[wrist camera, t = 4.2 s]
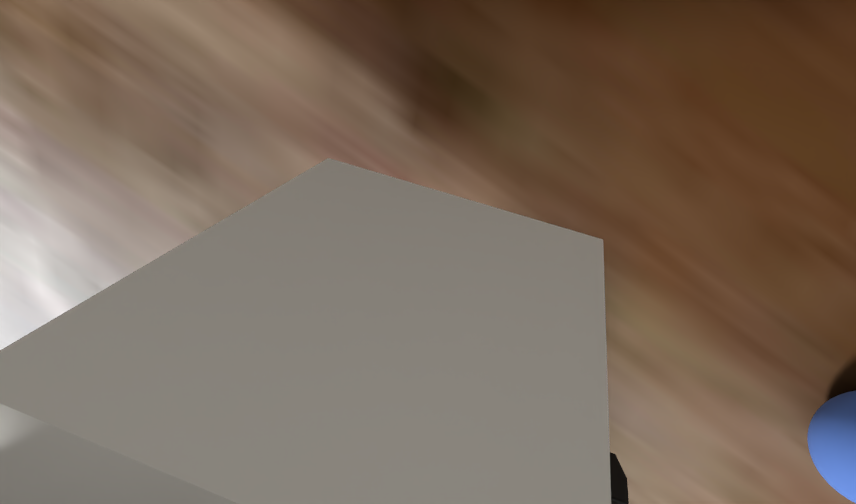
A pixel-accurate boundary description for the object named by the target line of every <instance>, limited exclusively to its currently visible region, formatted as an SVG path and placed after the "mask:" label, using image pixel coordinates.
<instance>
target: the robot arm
mask: <svg viewBox="0 0 856 504" xmlns="http://www.w3.org/2000/svg"><path fill="white" fill-rule="evenodd" d="M610 479H611V504H628V503H629V502H628V487H627V478H626V476H625V474H624V472H623V470H622V467H621V465H620V463H619V461H618V459H617V457H616V455H615V454H613V453H610Z"/></svg>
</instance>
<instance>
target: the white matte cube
mask: <svg viewBox="0 0 856 504" xmlns="http://www.w3.org/2000/svg"><path fill="white" fill-rule="evenodd" d="M0 504H611V479H610V446H609V414H608V381H607V349H606V317H605V284H604V252H603V239H600V238H596V237H593V236H589V235H586V234H583V233H579V232H576V231H573V230H569V229H566V228H562V227H559V226H556V225H552V224H549V223H546V222H542V221H539V220H535V219H532V218H529V217H525V216H522V215H519V214H515V213H512V212H508V211H505V210H502V209H498V208H495V207H492V206H488V205H485V204H481V203H478V202H475V201H471V200H468V199H465V198H461V197H458V196H454V195H451V194H448V193H444V192H441V191H438V190H434V189H431V188H427V187H424V186H421V185H417V184H414V183H411V182H407V181H404V180H400V179H397V178H394V177H390V176H387V175H384V174H380V173H377V172H373V171H370V170H367V169H363V168H360V167H357V166H353V165H350V164H346V163H343V162H340V161H336V160H333V159H330V158H328V159H326V160H324V161H322V162H321V163H319V164H317V165H316V166H314V167H312V168H310V169H309V170H307V171H305V172H304V173H302V174H300V175H299V176H297V177H295V178H293V179H292V180H290V181H288V182H287V183H285V184H283V185H281V186H280V187H278V188H276V189H275V190H273V191H271V192H270V193H268V194H266V195H264V196H263V197H261V198H259V199H258V200H256V201H254V202H253V203H251V204H249V205H247V206H246V207H244V208H242V209H241V210H239V211H237V212H235V213H234V214H232V215H230V216H229V217H227V218H225V219H224V220H222V221H220V222H218V223H217V224H215V225H213V226H212V227H210V228H208V229H206V230H205V231H203V232H201V233H200V234H198V235H196V236H195V237H193V238H191V239H189V240H188V241H186V242H184V243H183V244H181V245H179V246H178V247H176V248H174V249H172V250H171V251H169V252H167V253H166V254H164V255H162V256H160V257H159V258H157V259H155V260H154V261H152V262H150V263H149V264H147V265H145V266H143V267H142V268H140V269H138V270H137V271H135V272H133V273H132V274H130V275H128V276H126V277H125V278H123V279H121V280H120V281H118V282H116V283H114V284H113V285H111V286H109V287H108V288H106V289H104V290H103V291H101V292H99V293H97V294H96V295H94V296H92V297H91V298H89V299H87V300H85V301H84V302H82V303H80V304H79V305H77V306H75V307H74V308H72V309H70V310H68V311H67V312H65V313H63V314H62V315H60V316H58V317H57V318H55V319H53V320H51V321H50V322H48V323H46V324H45V325H43V326H41V327H39V328H38V329H36V330H34V331H33V332H31V333H29V334H28V335H26V336H24V337H22V338H21V339H19V340H17V341H16V342H14V343H12V344H11V345H9V346H7V347H5V348H4V349H2V350H0Z"/></svg>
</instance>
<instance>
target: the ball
mask: <svg viewBox="0 0 856 504" xmlns="http://www.w3.org/2000/svg"><path fill="white" fill-rule="evenodd" d="M808 447H809V452H810V455H811V457H812V460H813V462H814V464H815V466H816V468H817V469H818V471H819V473H820V474H821V475H822V477H823V478H824V479H825V480H826V481H827V482H828V484H830V485H831V486H832V487H833V488H834V489H835V490H836V491H837V492H839V493H840V494H841V495H843V496H844V497H846V498H847V499H849V500H851V501H852V502H854V503H856V391H851V392H846V393H843V394H840V395H838V396H835V397H833V398H831V399H830V400H828V401H827V402H825V403H824V404H823V405H822V406H821V407H820V408H819V409H818V410H817V411H816V413H815V414H814V416H813V417H812V420H811V422H810V425H809V429H808Z"/></svg>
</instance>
